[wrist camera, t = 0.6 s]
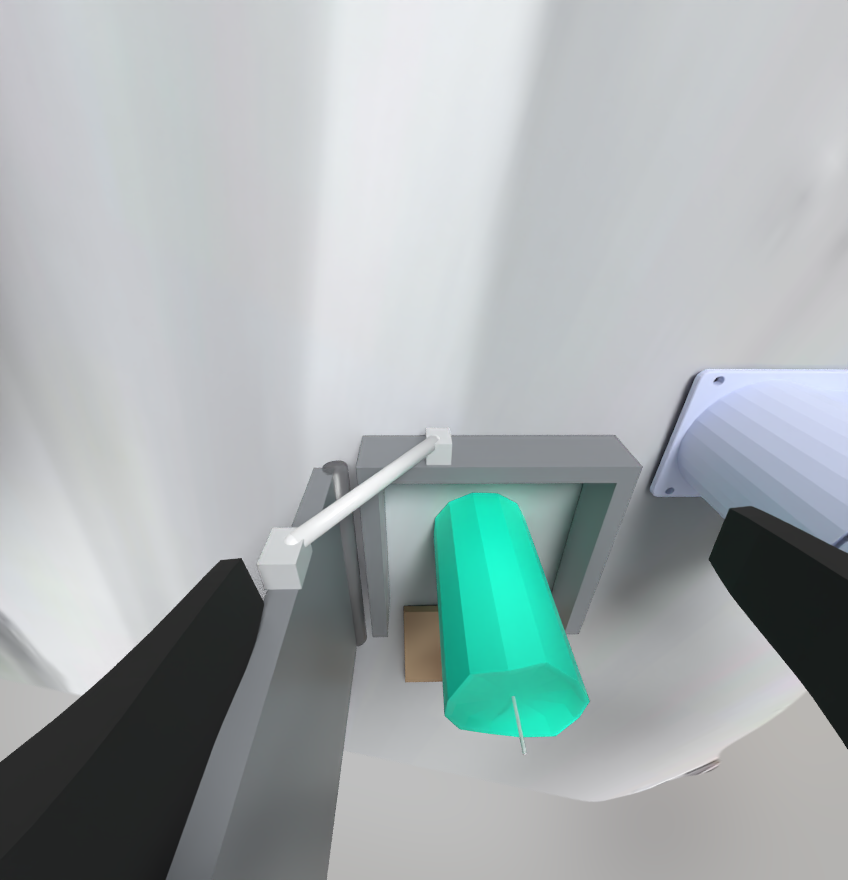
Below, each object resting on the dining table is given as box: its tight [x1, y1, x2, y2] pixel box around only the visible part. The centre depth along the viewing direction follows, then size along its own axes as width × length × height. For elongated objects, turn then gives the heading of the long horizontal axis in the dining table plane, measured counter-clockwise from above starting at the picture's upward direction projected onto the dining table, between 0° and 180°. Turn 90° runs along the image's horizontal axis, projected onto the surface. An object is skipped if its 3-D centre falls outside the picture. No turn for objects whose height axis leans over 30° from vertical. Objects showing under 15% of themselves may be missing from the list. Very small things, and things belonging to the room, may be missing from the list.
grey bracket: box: [166, 427, 643, 880], centre depth 17 cm, size 16×15×17 cm
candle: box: [434, 493, 590, 755], centre depth 20 cm, size 6×6×12 cm
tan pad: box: [404, 606, 443, 682], centre depth 31 cm, size 10×10×1 cm
